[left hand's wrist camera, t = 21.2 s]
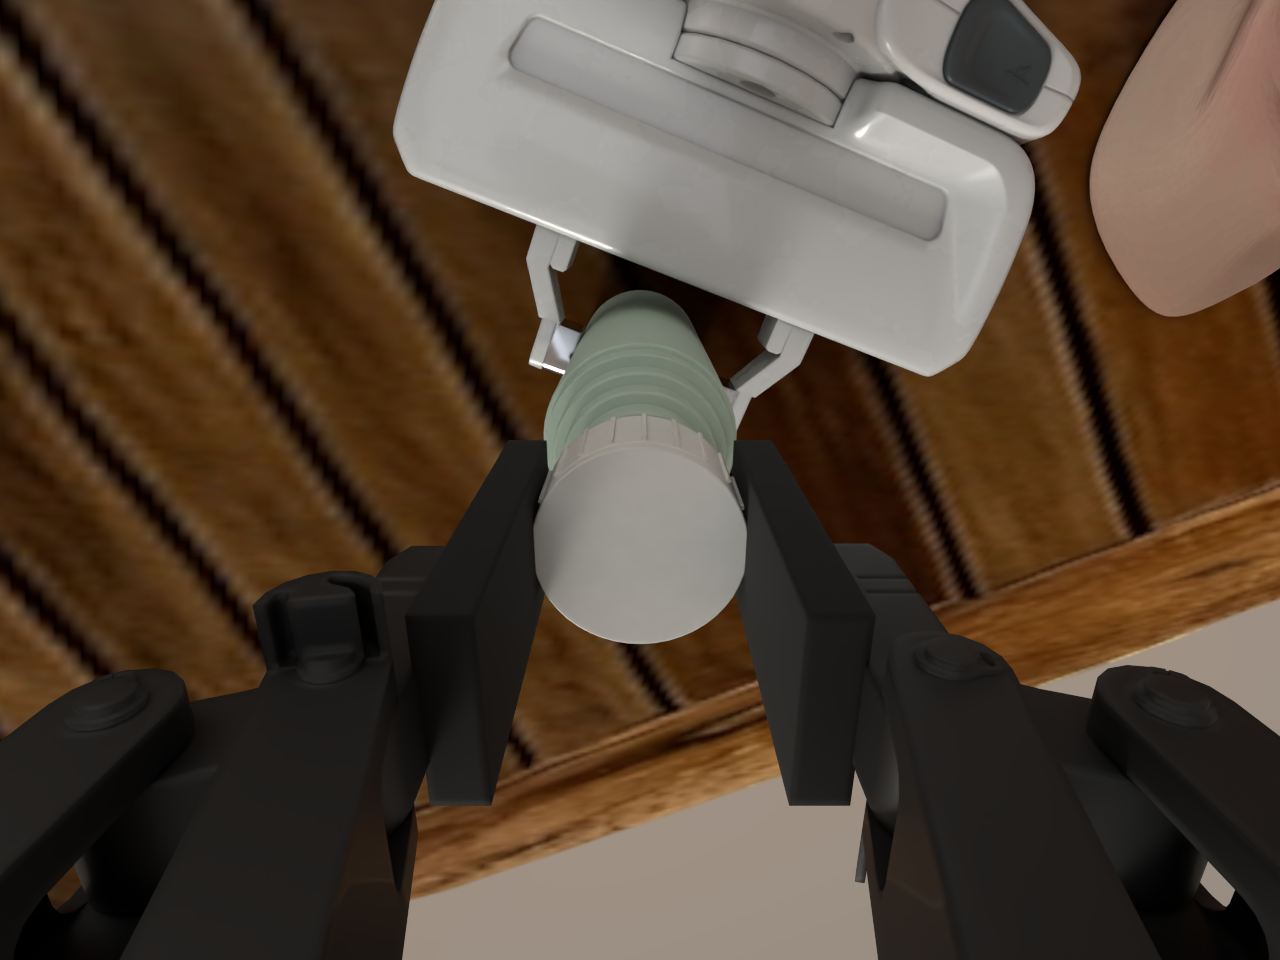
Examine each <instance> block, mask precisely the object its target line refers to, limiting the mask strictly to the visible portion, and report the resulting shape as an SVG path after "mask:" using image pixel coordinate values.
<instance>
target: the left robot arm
mask: <svg viewBox="0 0 1280 960" xmlns="http://www.w3.org/2000/svg"><path fill="white" fill-rule="evenodd" d="M547 474H548V457H547V440H509V441H508V442H507V444H506V446H505V447H504V449H503V451H502V452H501V454H500V456H499V457H498V459H497V461H496V462H495V464H494V466H493V468H492V469H491V471H490V473H489V474H488V476H487V478H486V479H485V481H484V483H483V484H482V486H481V488H480V489H479V491H478V493H477V494H476V496H475V498H474V500H473V501H472V503H471V505H470V506H469V508H468V510H467V511H466V513H465V515H464V516H463V518H462V520H461V521H460V523H459V525H458V526H457V528H456V530H455V532H454V533H453V535H452V537H451V538H450V540H449V542H448V543H447V545H446V546H411V547H409V548H408V549H406V550H404V551H403V552H401V553H400V554H398V555H396V556H395V557H393V558H392V559H390V560H388V561H387V563H386V564H385V565H384V567H383V568H382V569H381V571H380V572H379V573H378V575H377V576H376V578H375V577H373V576H372V575H369V574H364V573H360V572H356V571H329V572H323V573H317V574H311V575H306V576H303V577H300V578H297V579H294V580H291V581H288V582H285V583H283V584H281V585H279V586H277V587H276V588H274V589H272V590H270V591H268V592H266V593H265V594H264V595H263V596H262V597H261V598H260V599H259V600H258V601H257V602H256V603H255V604H254V605H253V609H254V614H255V618H256V623H257V627H258V632H259V636H260V641H261V645H262V650H263V654H264V659H265V663H266V668H267V672H266V674H265V676H264V678H263V680H262V682H261V684H260V686H259V688H255V689H252V690H248V691H244V692H239V693H234V694H229V695H223V696H218V697H213V698H208V699H203V700H198V701H192V702H189V698H188V694H187V691H186V687H185V683H184V680H183V679H181V678H180V677H179V676H178V675H177V674H175V673H174V672H171V671H166V670H160V669H155V668H154V669H142V670H127V671H121V672H116V674H114V675H113V673H112V674H109V675H105V676H102V677H99V678H97V679H95V680H93V681H92V682H90V683H87V684H85V685H82V686H80V687H78V688H75V689H73V690H71V691H69V692H68V693H66V694H65V695H63V696H61V697H60V698H58V699H57V700H55V701H53V702H52V703H50V704H49V705H47V706H46V707H44V708H43V709H42V710H41V711H39V712H38V713H37V714H35V715H34V716H33V717H31V718H30V719H29V720H28V721H26V722H25V723H24V724H22V725H21V726H20V727H18V728H17V729H16V730H15V731H13V732H12V733H11V734H9V735H8V736H7V737H6V738H4V739H3V740H2V741H0V960H402V955H403V948H404V940H405V932H406V924H407V917H408V909H409V901H410V894H411V886H412V878H413V870H414V863H415V855H416V847H417V840H418V829H417V821H416V814H415V807H414V801H415V799H416V796H417V793H418V791H419V788H420V786H421V783H422V780H423V778H424V775H425V773H426V777H427V784H428V792H429V799H430V806H491V804H492V800H493V796H494V792H495V788H496V784H497V780H498V777H499V773H500V769H501V765H502V761H503V757H504V753H505V749H506V745H507V741H508V737H509V733H510V729H511V725H512V721H513V717H514V713H515V710H516V706H517V702H518V698H519V694H520V690H521V686H522V682H523V678H524V674H525V670H526V666H527V662H528V658H529V654H530V650H531V646H532V643H533V639H534V635H535V631H536V627H537V623H538V619H539V615H540V611H541V607H542V603H543V599H544V595H545V592H544V590H543V589H542V587H541V585H540V582H539V580H538V578H537V575H536V566H535V549H534V530H533V525H534V522H535V518H536V515H537V512H538V509H539V506H540V503H538V499H539V496H540V494H541V491H542V488H543V485H544V483H545V480H546V477H547ZM732 477H734V479H735V482H736V485H737V487H738V490H739V493H740V496H741V498H742V501H743V504H744V510H742V512H743V515H744V518H745V521H746V524H747V539H746V556H745V572H744V576H743V578H742V581H741V583H740V585H739V587H738V589H737V591H736V592H735V594H736V597H737V601H738V605H739V609H740V613H741V617H742V621H743V625H744V629H745V633H746V637H747V641H748V645H749V649H750V653H751V657H752V661H753V664H754V668H755V672H756V676H757V680H758V684H759V688H760V692H761V696H762V700H763V704H764V708H765V712H766V716H767V720H768V724H769V728H770V731H771V735H772V739H773V743H774V747H775V751H776V755H777V759H778V763H779V767H780V771H781V775H782V779H783V783H784V787H785V791H786V795H787V798H788V802H789V805H790V806H850V802H851V795H852V788H853V780H854V773H855V771H856V773H857V776H858V778H859V781H860V783H861V786H862V788H863V791H864V794H865V796H866V799H867V801H866V808H865V814H864V821H863V828H862V835H861V842H860V848H859V856H858V862H857V869H856V877H855V882H861V883H865V877H866V871H867V877H868V884H869V892H870V900H871V907H872V915H873V923H874V931H875V938H876V946H877V954H878V960H1280V736H1279V735H1277V734H1276V733H1275V732H1273V731H1272V730H1271V729H1269V728H1268V727H1267V726H1266V725H1264V724H1263V723H1262V722H1260V721H1259V720H1258V719H1256V718H1255V717H1254V716H1252V715H1251V714H1250V713H1249V712H1247V711H1246V710H1245V709H1243V708H1242V707H1241V706H1239V705H1238V704H1237V703H1235V702H1234V701H1232V700H1231V699H1229V698H1227V697H1226V696H1224V695H1223V694H1221V693H1219V692H1218V691H1216V690H1215V689H1213V688H1211V687H1210V686H1207V685H1205V684H1203V683H1200V682H1198V681H1195V680H1193V679H1191V678H1189V677H1187V676H1186V675H1184V674H1181V673H1178V672H1174V671H1171V670H1169V671H1166V670H1165V669H1162V668H1157V667H1144V666H1131V665H1125V666H1120V667H1114V668H1109V669H1107V670H1106V671H1104V672H1103V673H1102V674H1101V675H1100V676H1099V677H1098V678H1097V682H1096V685H1095V689H1094V693H1093V697H1092V699H1089V698H1084V697H1079V696H1074V695H1068V694H1063V693H1058V692H1053V691H1048V690H1043V689H1038V688H1034V687H1030V686H1026V685H1022V684H1020V683H1019V681H1018V679H1017V677H1016V675H1015V673H1014V671H1013V669H1012V668H1011V667H1010V666H1009V665H1008V663H1007V662H1006V661H1005V660H1004V659H1003V657H1002V656H1000V655H999V654H997V653H996V652H994V651H993V650H991V649H989V648H988V647H986V646H985V645H983V644H981V643H978V642H976V641H973V640H970V639H968V638H965V637H963V636H960V635H954V634H949V633H948V632H947V630H946V629H945V628H944V626H943V625H942V624H941V622H940V621H939V620H938V618H937V617H936V615H935V614H934V613H933V611H932V610H931V609H930V607H929V606H928V605H927V603H926V602H925V601H924V599H923V598H922V597H921V595H920V594H917V593H916V589H915V587H914V586H913V585H912V583H911V582H910V581H909V579H906V575H905V574H904V573H903V571H902V570H901V569H900V567H899V566H898V564H897V563H896V562H895V560H894V559H893V558H892V557H890V556H888V555H887V554H885V553H883V552H882V551H880V550H879V549H877V548H875V547H874V546H872V545H870V544H833V543H832V541H831V539H830V537H829V536H828V534H827V532H826V531H825V529H824V527H823V526H822V524H821V522H820V521H819V519H818V517H817V516H816V514H815V512H814V511H813V509H812V507H811V506H810V504H809V502H808V500H807V499H806V497H805V495H804V494H803V492H802V490H801V489H800V487H799V485H798V484H797V482H796V480H795V479H794V477H793V475H792V474H791V472H790V470H789V468H788V467H787V465H786V463H785V462H784V460H783V458H782V457H781V455H780V453H779V452H778V450H777V448H776V447H775V445H774V443H773V442H772V440H734V445H733V466H732ZM1208 861H1209V862H1210V863H1211V865H1212V866H1213V867H1214V868H1215V869H1216V870H1217V871H1218V872H1219V873H1220V874H1221V875H1222V876H1223V877H1224V878H1225V879H1226V880H1227V881H1228V882H1229V884H1230V885H1231V886H1232V887H1233V888H1234V889H1235V892H1234V894H1233V897H1232V899H1231V902H1230V904H1229V905H1228V906H1227V907H1225V906H1223V905H1222V904H1221V903H1220V902H1218V901H1217V900H1216V899H1215V898H1214V897H1213V896H1212V895H1211V894H1210V893H1209V892H1208V891H1207V890H1206V889H1205V888H1204V886H1203V885H1202V884H1201V883H1200V881H1201V878H1202V875H1203V873H1204V870H1205V867H1206V865H1207V862H1208ZM73 865H74V866H75V868H76V871H77V874H78V876H79V879H80V882H81V884H82V886H81V887H80V888H79V889H78V890H77V891H76V892H75V893H74V895H73V896H72V897H71V898H70V899H69V900H68V901H66V902H65V903H64V904H63V905H61V906H60V907H59V908H58V909H55V908H53V907H52V905H51V902H50V900H49V897H48V895H47V893H48V892H49V891H50V890H51V889H52V888H53V887H54V885H55V884H56V883H57V882H58V881H59V880H60V879H61V878H62V877H63V876H64V875H65V874H66V873H67V872H68V871H69V869H70V868H71V867H72V866H73Z"/></svg>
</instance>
